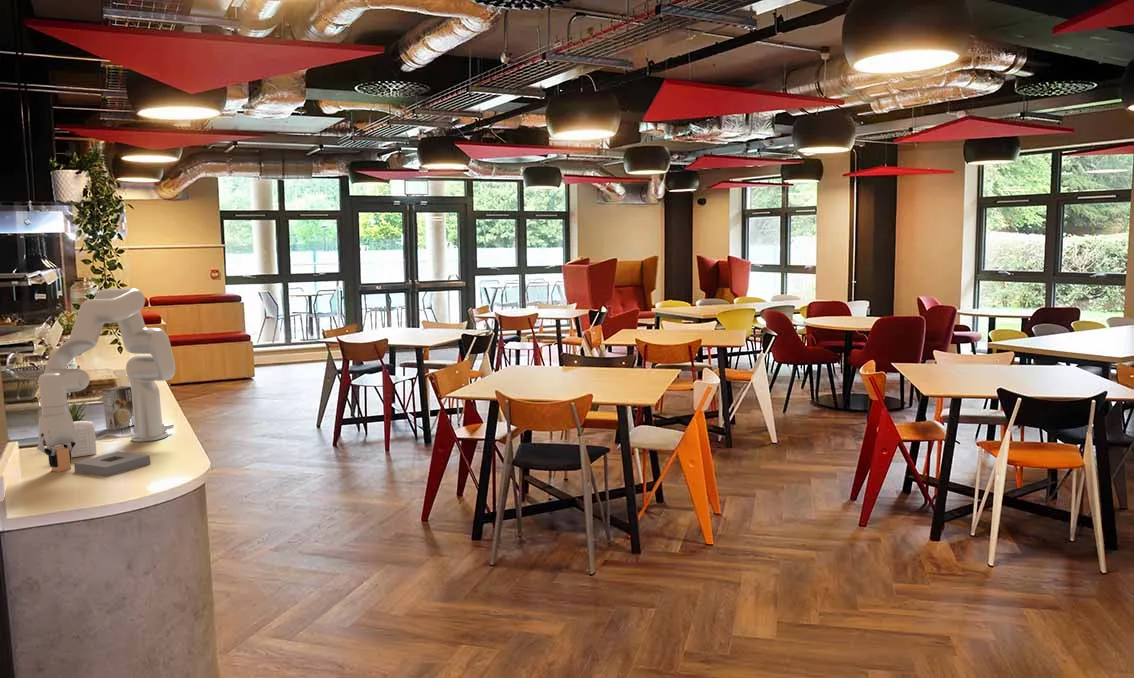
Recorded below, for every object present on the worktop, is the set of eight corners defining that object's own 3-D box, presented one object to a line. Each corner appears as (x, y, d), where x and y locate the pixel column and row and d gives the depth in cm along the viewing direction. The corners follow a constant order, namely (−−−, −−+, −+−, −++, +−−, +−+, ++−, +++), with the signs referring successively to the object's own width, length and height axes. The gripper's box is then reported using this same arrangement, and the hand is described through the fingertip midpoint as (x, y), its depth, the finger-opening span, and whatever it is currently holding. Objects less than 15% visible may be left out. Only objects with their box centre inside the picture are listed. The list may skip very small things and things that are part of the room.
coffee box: (127, 424, 365) (123, 385, 363) (136, 425, 362) (132, 386, 360) (105, 428, 357) (101, 389, 355) (114, 430, 354) (110, 390, 352)
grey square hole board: (118, 459, 305) (118, 451, 304) (150, 463, 297) (149, 455, 297) (74, 471, 290) (73, 462, 290) (106, 476, 283) (106, 467, 283)
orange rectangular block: (63, 467, 296) (61, 447, 296) (70, 468, 295) (68, 448, 294) (51, 470, 293) (49, 449, 292) (59, 471, 291) (57, 450, 290)
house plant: (105, 437, 342) (101, 395, 340) (87, 445, 328) (83, 402, 326) (68, 438, 341) (63, 396, 339) (48, 447, 328) (44, 403, 326)
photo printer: (96, 452, 317) (92, 418, 315) (97, 454, 313) (94, 420, 312) (63, 457, 311) (59, 422, 310) (64, 459, 308) (60, 424, 306)
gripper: (71, 405, 300) (77, 458, 303) (22, 414, 286) (28, 470, 288) (86, 406, 297) (91, 459, 299) (37, 416, 282) (43, 472, 284)
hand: (60, 464), depth 293 cm, fingers closed on orange rectangular block, 4 cm apart
